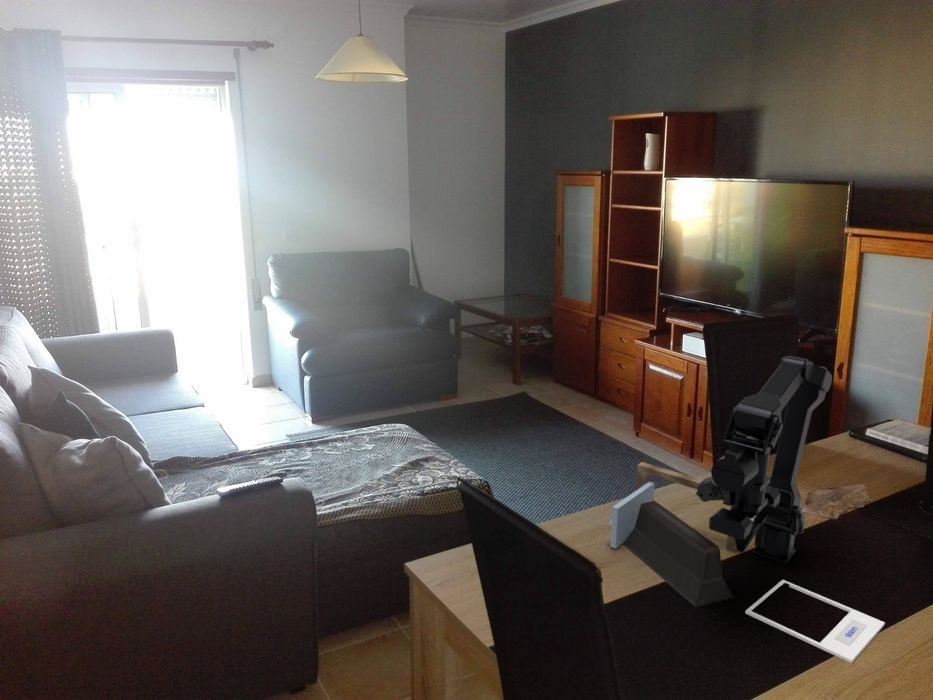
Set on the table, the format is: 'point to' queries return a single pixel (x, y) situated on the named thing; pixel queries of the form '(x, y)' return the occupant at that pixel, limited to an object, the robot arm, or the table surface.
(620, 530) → the door
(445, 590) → the table surface
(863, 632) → the photo frame
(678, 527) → the barrier
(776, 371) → the robot arm
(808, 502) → the wooden fragment
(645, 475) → the door frame
